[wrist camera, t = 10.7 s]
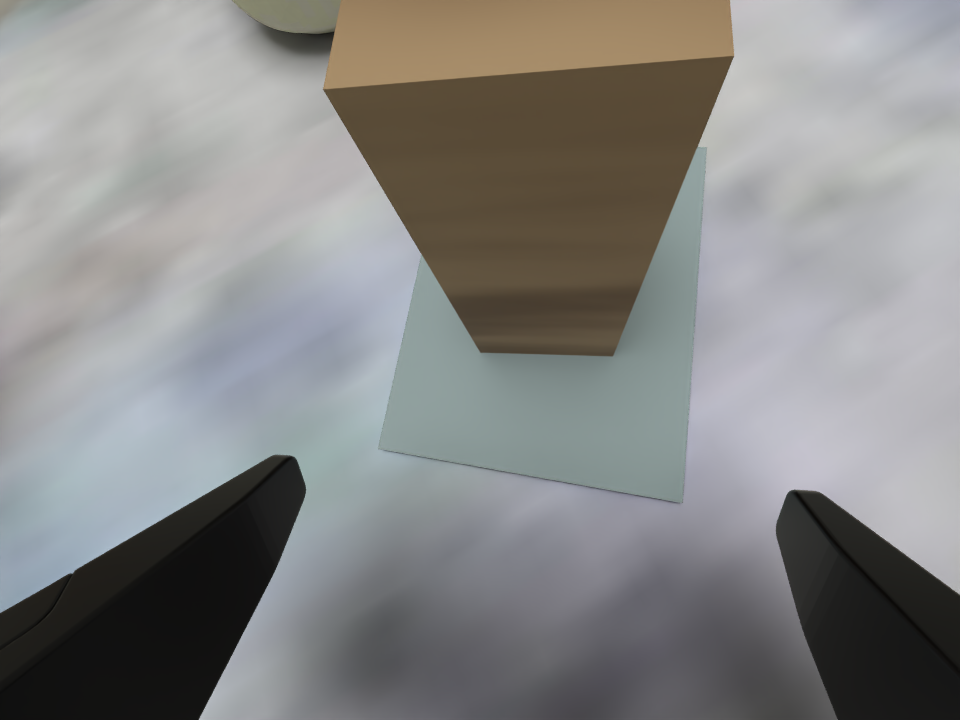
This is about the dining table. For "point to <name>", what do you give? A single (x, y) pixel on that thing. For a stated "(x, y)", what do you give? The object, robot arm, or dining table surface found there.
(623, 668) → the dining table surface
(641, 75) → the walnut block
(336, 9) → the teacup
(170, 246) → the dining table surface
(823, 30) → the dining table surface
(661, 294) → the slate mat
